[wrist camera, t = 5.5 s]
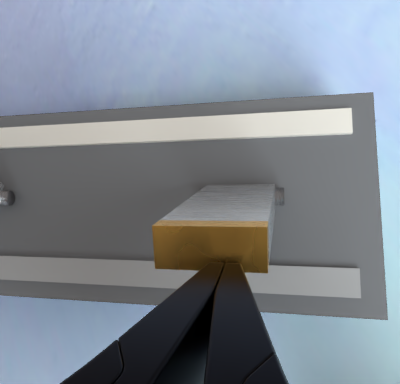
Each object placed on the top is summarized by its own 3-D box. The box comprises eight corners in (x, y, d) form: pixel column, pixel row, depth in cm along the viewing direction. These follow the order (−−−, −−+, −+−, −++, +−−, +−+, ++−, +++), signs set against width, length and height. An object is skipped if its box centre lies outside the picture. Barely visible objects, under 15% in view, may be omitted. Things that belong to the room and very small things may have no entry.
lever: (284, 207, 17) (284, 274, 9) (202, 207, 18) (141, 268, 10) (284, 181, 17) (283, 227, 9) (201, 182, 17) (137, 225, 10)
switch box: (363, 309, 20) (388, 320, 15) (-41, 285, 26) (-119, 288, 21) (354, 132, 22) (374, 90, 17) (-17, 148, 28) (-83, 120, 23)
